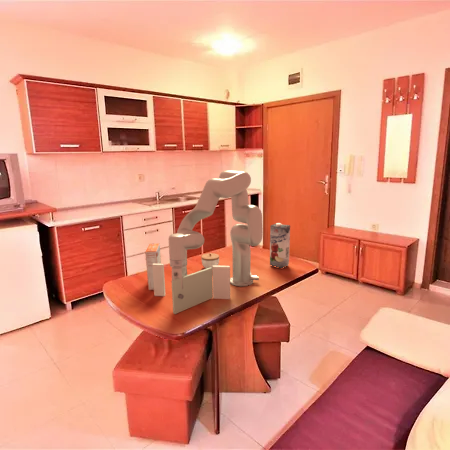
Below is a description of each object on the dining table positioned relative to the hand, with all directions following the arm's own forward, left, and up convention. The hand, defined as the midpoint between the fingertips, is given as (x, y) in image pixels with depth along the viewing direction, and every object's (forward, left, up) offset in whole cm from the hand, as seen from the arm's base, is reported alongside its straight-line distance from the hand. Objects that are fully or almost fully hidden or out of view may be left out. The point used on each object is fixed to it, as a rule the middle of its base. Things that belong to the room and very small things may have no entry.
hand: (180, 300), depth 143 cm
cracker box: (+20, -22, -3) cm, 30 cm away
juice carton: (-46, -56, -3) cm, 73 cm away
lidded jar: (-5, -49, -3) cm, 50 cm away
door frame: (-3, -10, -3) cm, 11 cm away
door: (-7, 0, -3) cm, 7 cm away
